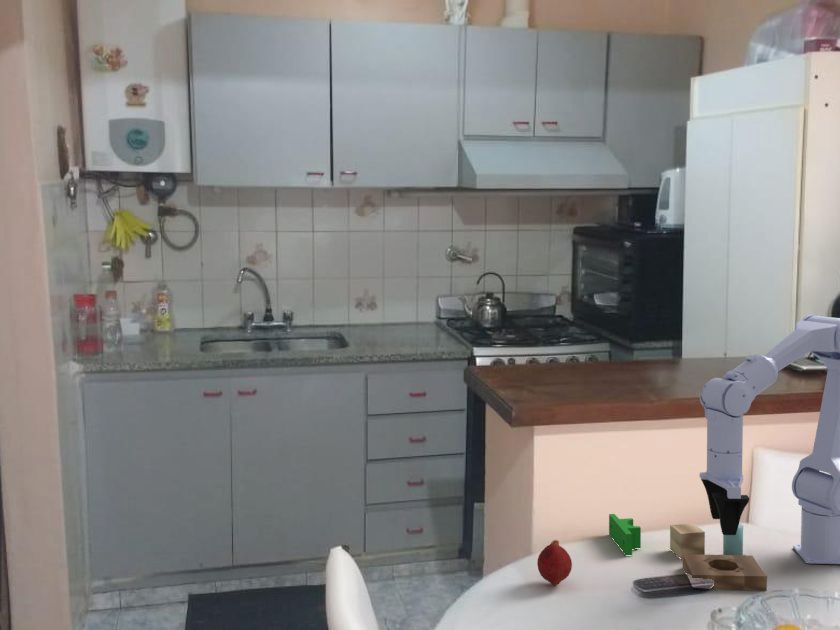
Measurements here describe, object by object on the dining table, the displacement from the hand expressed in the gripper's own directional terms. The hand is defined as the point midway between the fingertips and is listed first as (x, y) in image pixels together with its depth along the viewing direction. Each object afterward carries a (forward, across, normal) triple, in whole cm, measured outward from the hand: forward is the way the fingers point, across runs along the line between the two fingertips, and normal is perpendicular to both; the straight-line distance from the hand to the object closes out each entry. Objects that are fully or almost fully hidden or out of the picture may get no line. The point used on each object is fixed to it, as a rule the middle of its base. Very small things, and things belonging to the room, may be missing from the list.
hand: (723, 526), depth 147 cm
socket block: (+9, 0, 0) cm, 9 cm away
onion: (+10, +4, -29) cm, 31 cm away
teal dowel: (+9, -10, +4) cm, 14 cm away
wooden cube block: (+10, -11, -4) cm, 15 cm away
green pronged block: (+10, -15, -15) cm, 23 cm away
